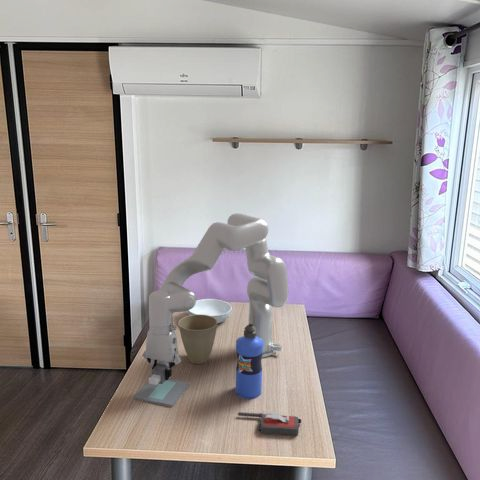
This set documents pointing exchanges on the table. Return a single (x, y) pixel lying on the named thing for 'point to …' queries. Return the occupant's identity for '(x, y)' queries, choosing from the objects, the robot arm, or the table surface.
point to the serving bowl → (212, 309)
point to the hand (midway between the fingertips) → (161, 376)
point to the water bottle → (249, 364)
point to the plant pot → (198, 336)
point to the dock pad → (162, 392)
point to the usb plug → (158, 374)
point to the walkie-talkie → (276, 423)
